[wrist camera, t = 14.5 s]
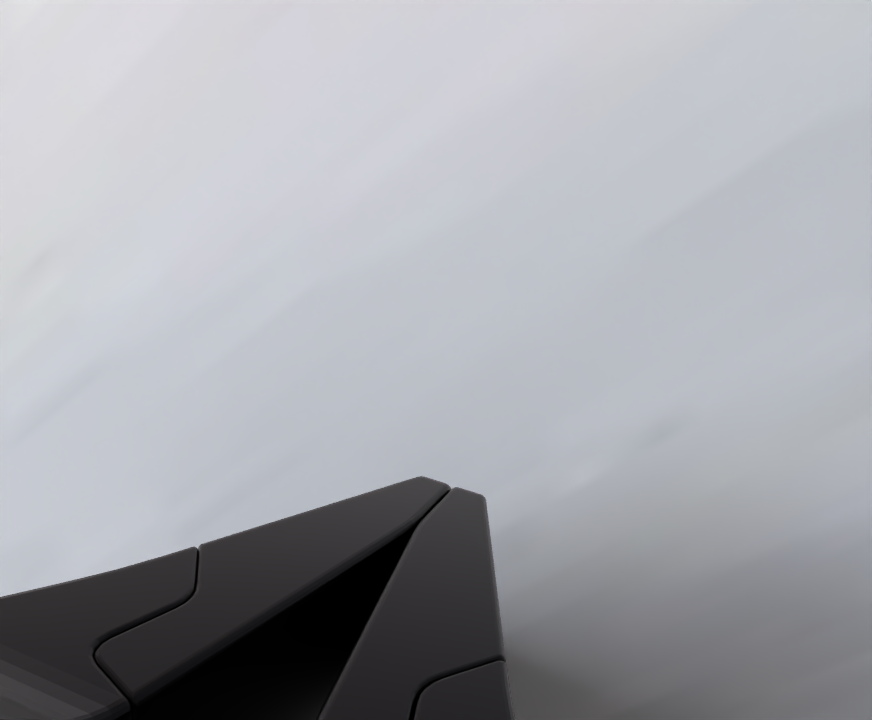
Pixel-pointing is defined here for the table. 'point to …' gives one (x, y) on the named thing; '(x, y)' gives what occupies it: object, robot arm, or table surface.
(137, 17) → the table surface
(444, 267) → the table surface
